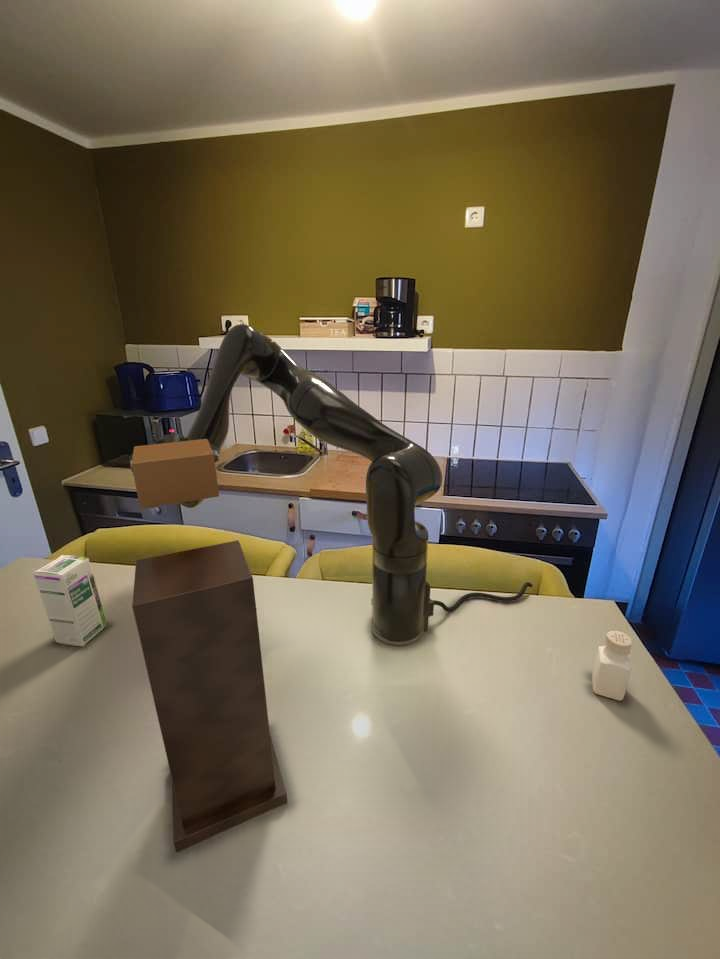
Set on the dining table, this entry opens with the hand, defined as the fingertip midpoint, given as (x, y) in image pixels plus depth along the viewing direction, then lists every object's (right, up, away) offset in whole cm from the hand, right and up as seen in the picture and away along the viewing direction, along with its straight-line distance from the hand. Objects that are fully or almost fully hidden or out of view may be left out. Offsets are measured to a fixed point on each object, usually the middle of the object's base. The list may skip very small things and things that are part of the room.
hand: (172, 443), depth 60 cm
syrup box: (-24, -33, +17) cm, 44 cm away
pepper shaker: (+63, -37, +5) cm, 73 cm away
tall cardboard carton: (+2, -4, -3) cm, 5 cm away
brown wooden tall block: (+10, -42, -8) cm, 44 cm away
